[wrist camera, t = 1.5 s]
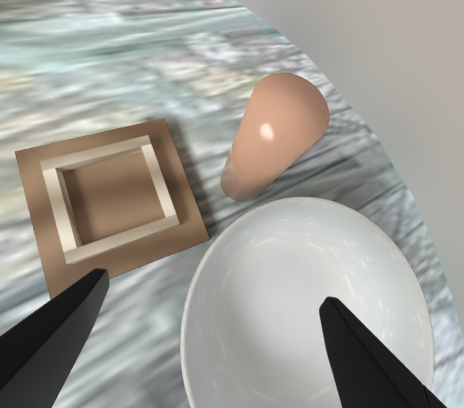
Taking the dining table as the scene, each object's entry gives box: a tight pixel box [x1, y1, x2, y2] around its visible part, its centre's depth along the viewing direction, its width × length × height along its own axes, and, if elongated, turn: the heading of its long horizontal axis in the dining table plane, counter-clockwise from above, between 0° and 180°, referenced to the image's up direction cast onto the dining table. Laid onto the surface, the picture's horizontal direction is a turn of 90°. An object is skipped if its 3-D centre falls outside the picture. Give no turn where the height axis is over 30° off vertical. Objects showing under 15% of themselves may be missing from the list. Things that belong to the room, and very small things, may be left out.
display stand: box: [15, 118, 210, 299], centre depth 21 cm, size 14×14×3 cm
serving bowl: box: [180, 197, 434, 408], centre depth 20 cm, size 21×21×7 cm
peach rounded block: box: [221, 73, 329, 202], centre depth 19 cm, size 5×5×13 cm
